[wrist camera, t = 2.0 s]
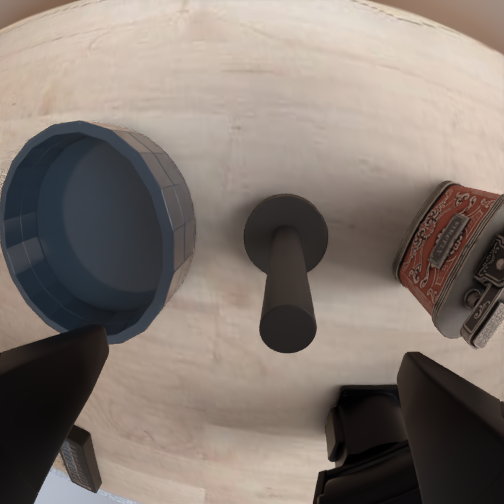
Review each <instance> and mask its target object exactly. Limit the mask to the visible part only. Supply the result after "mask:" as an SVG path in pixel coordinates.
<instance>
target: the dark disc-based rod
mask: <svg viewBox="0 0 504 504" xmlns="http://www.w3.org/2000/svg"><path fill="white" fill-rule="evenodd" d="M327 243H328V231H327V226H326V223H325V221H324V219H323V217H322V215H321V214H320V212H319V211H318V210H317V208H316V207H315V206H314V205H313V204H312V203H311V202H309V201H308V200H306V199H305V198H302V197H300V196H297V195H293V194H278V195H274V196H271V197H269V198H267V199H265V200H263V201H262V202H261V203H260V204H258V205H257V206H256V208H255V209H254V210H253V212H252V213H251V215H250V217H249V218H248V220H247V223H246V226H245V229H244V245H245V249H246V252H247V254H248V256H249V258H250V259H251V261H252V262H253V263H254V265H256V266H257V267H258V268H259V269H260V270H261V271H263V272H265V273H266V274H267V279H266V286H265V293H264V300H263V307H262V313H261V320H260V327H259V331H260V336H261V338H262V340H263V342H264V343H265V344H266V345H267V346H268V347H269V348H271V349H272V350H274V351H277V352H280V353H295V352H298V351H301V350H303V349H304V348H306V347H307V346H308V345H309V344H310V343H311V342H312V341H313V339H314V337H315V335H316V330H317V326H316V320H315V314H314V309H313V303H312V298H311V292H310V287H309V282H308V277H307V272H309V271H310V270H312V269H313V268H314V267H315V266H316V265H317V264H318V263H319V262H320V261H321V259H322V258H323V256H324V254H325V251H326V248H327Z"/></svg>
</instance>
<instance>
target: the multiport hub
mask: <svg viewBox="0 0 504 504" xmlns="http://www.w3.org/2000/svg"><path fill="white" fill-rule="evenodd" d="M59 452H60V454H61V457H62V460H63V462H64V465H65V467H66V470H67V472H68V474H69V477H70V479H71V481H72V482H73V483H75V484H77V485H79V486H81V487H83V488H85V489H87V490H89V491H92V492H94V493H97V491H98V489H99V487H100V485H101V484H102V482H101V478H100V474H99V470H98V466H97V462H96V458H95V454H94V450H93V445H92V440H91V435H90V434H89V433H88V432H87V431H85V430H83V429H81V428H79V427H77V426H75V425H73V427H72V429H71V430H70V432H69V434H68V436H67V438H66V440H65V442H64V443H63V445H62V447H61V449H60V451H59Z"/></svg>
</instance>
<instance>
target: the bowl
mask: <svg viewBox="0 0 504 504" xmlns="http://www.w3.org/2000/svg"><path fill="white" fill-rule="evenodd" d="M195 237H196V225H195V214H194V208H193V203H192V200H191V196H190V193H189V190H188V188H187V185H186V183H185V181H184V178H183V176H182V175H181V173H180V171H179V169H178V168H177V166H176V165H175V163H174V162H173V161H172V159H171V158H170V157H169V156H168V154H167V153H166V152H165V151H164V150H163V149H162V148H161V147H160V146H158V145H157V144H156V143H155V142H153V141H152V140H150V139H149V138H148V137H146V136H144V135H142V134H140V133H138V132H136V131H133V130H130V129H127V128H122V127H119V126H115V125H110V124H103V123H96V122H89V121H73V122H66V123H60V124H54V125H52V126H50V127H48V128H47V129H45V130H44V131H42V132H40V133H39V134H37V135H36V136H34V137H33V138H31V139H30V140H28V142H27V143H26V144H25V145H24V147H23V148H22V149H21V151H20V152H19V153H18V155H17V156H16V157H15V159H14V160H13V161H12V163H11V166H10V168H9V171H8V173H7V176H6V179H5V181H4V184H3V187H2V191H1V199H0V240H1V248H2V252H3V255H4V258H5V261H6V264H7V267H8V270H9V273H10V276H11V278H12V280H13V282H14V284H15V285H16V287H17V289H18V290H19V292H20V294H21V295H22V297H23V299H24V300H25V302H26V303H27V305H28V306H29V307H30V308H31V309H32V310H33V311H34V312H35V313H36V314H37V315H38V316H39V317H40V318H41V319H42V320H43V321H44V322H45V323H46V324H47V325H48V326H50V327H52V328H53V329H55V330H56V331H58V332H60V333H64V332H67V331H70V330H73V329H77V328H80V327H83V326H86V325H89V324H97V325H102V326H103V327H104V328H105V330H106V335H107V340H108V345H110V344H120V343H123V342H125V341H127V340H129V339H131V338H133V337H135V336H136V335H138V334H140V333H142V332H144V331H145V330H146V329H147V328H148V326H149V325H150V324H151V323H152V321H153V320H154V319H155V317H156V316H157V315H158V314H159V312H160V311H161V310H162V309H163V307H164V306H165V305H166V303H167V302H168V301H169V300H170V298H171V297H172V296H173V294H174V293H175V292H176V291H177V289H178V288H179V287H180V286H181V284H182V283H183V281H184V278H185V276H186V274H187V272H188V270H189V267H190V264H191V261H192V257H193V253H194V248H195Z"/></svg>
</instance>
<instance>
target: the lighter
mask: <svg viewBox="0 0 504 504" xmlns="http://www.w3.org/2000/svg"><path fill="white" fill-rule="evenodd" d="M392 270H393V274H394V276H395V278H396V280H397V281H398V282H399V283H400V284H401V285H402V286H403V287H405V288H408V289H409V290H410V292H411V293H412V294H413V295H414V296H415V297H416V299H417V300H418V301H419V302H420V303H421V304H422V306H423V307H424V308H425V309H426V310H427V312H428V313H429V314H430V315H431V316H432V321H433V323H434V325H435V327H436V328H437V329H438V331H439V332H440V333H441V334H442V335H443V336H444V337H447V338H450V339H454V338H459V337H461V336H462V337H463V338H464V339H465V340H466V342H467V343H468V344H469V345H470V346H471V347H472V348H474V349H480V348H483V347H484V346H485V345H486V344H487V342H488V341H489V340H490V338H491V337H492V335H493V334H494V333H495V331H496V330H497V328H498V327H499V326H500V324H501V323H502V321H503V320H504V194H502V195H498V194H494V193H490V192H486V191H481V190H477V189H472V188H468V187H464V186H463V185H462V184H460V183H457V182H451V181H445V182H443V183H441V184H440V185H439V186H438V187H437V189H436V190H435V191H434V192H433V194H432V195H431V196H430V197H429V198H428V200H427V201H426V202H425V204H424V205H423V207H422V208H421V210H420V211H419V213H418V214H417V216H416V217H415V219H414V220H413V222H412V224H411V226H410V228H409V230H408V232H407V234H406V235H405V237H404V239H403V241H402V243H401V246H400V248H399V251H398V253H397V255H396V258H395V260H394V262H393V266H392Z"/></svg>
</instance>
